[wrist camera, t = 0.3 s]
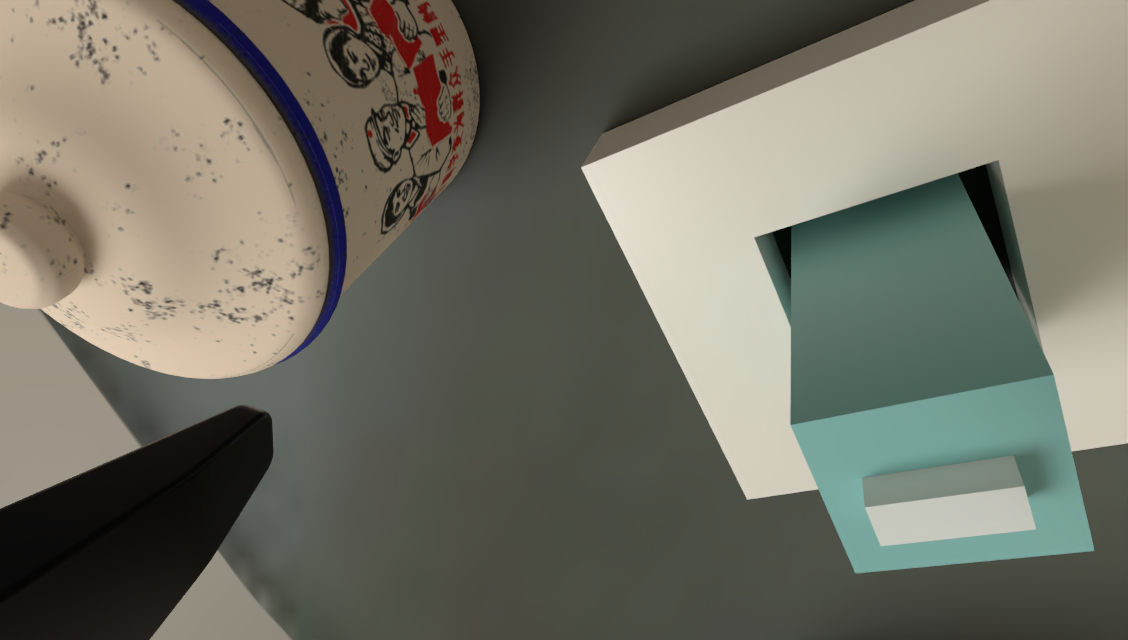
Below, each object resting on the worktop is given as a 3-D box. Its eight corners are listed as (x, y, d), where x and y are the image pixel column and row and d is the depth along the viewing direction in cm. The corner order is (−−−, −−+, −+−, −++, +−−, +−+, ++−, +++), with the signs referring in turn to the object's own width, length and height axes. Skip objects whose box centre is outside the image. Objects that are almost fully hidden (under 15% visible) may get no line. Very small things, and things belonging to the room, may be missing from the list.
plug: (983, 286, 20) (1108, 584, 12) (834, 324, 21) (857, 603, 14) (950, 157, 18) (1067, 404, 10) (791, 209, 20) (790, 452, 12)
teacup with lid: (531, 193, 22) (333, 468, 12) (291, 230, 25) (-9, 470, 16) (379, -308, 16) (-216, -504, 6) (90, -175, 19) (-583, -178, 10)
